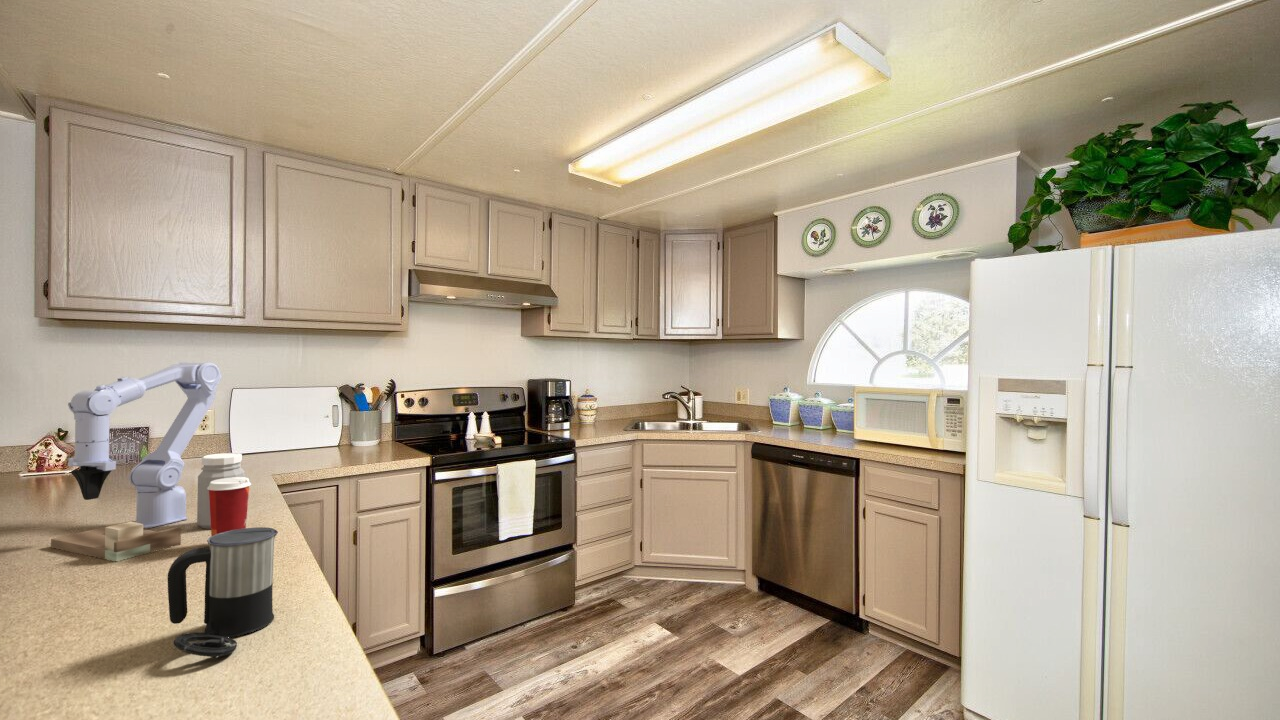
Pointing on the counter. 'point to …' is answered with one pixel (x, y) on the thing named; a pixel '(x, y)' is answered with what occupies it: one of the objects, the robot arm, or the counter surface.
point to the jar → (213, 470)
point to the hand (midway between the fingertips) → (91, 498)
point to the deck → (117, 543)
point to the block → (122, 533)
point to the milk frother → (226, 589)
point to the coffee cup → (228, 504)
